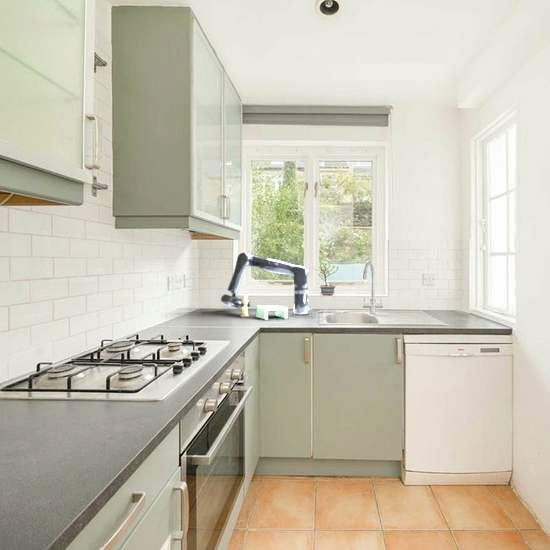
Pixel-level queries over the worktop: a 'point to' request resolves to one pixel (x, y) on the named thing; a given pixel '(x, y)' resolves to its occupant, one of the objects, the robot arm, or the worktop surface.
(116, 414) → the worktop surface
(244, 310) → the stick
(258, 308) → the shelf
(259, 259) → the robot arm
